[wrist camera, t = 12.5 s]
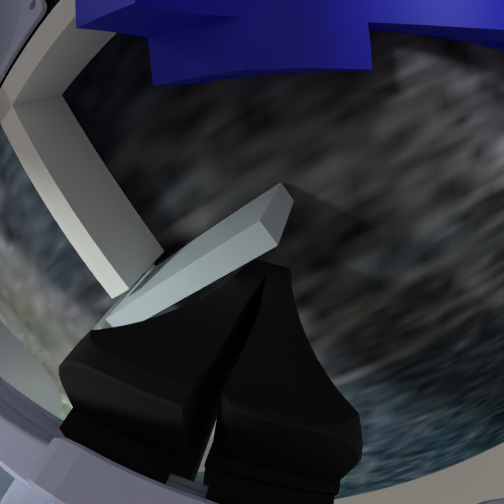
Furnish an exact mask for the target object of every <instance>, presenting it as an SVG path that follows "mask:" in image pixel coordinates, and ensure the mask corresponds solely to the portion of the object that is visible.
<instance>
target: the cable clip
mask: <svg viewBox="0 0 504 504" xmlns="http://www.w3.org/2000/svg"><path fill="white" fill-rule="evenodd" d="M75 14H76V28H79V29H90V30H100V31H108V32H116V33H123V34H129V35H136V36H142V37H147V38H148V44H149V54H150V63H151V72H152V81H153V86H156V85H186V84H198V83H204V82H211V81H218V80H225V79H232V78H241V77H250V76H260V75H271V74H285V73H304V72H369V71H371V70H373V68H372V56H371V46H370V37H369V31H387V32H399V33H409V34H418V35H426V36H433V37H440V38H446V39H452V40H457V41H463V42H467V43H472V44H477V45H481V46H486V47H490V48H494V49H498V50H501V51H504V0H75Z"/></svg>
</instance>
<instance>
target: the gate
mask: <svg viewBox="0 0 504 504" xmlns="http://www.w3.org/2000/svg"><path fill="white" fill-rule="evenodd" d="M293 202H294V200H293V199H292V197H291V196H290V194H289V193H288V192H287V190H286V189H285V187H284V186H283V185H282V183H281V182H280V183H279V184H277V185H276V186H274V187H272V188H271V189H269V190H268V191H266V192H265V193H263V194H262V195H260V196H259V197H257V198H256V199H254V200H253V201H251V202H249V203H248V204H246V205H245V206H243V207H242V208H240V209H239V210H237V211H236V212H234V213H233V214H231V215H230V216H228V217H227V218H225V219H224V220H222V221H221V222H219V223H218V224H216V225H215V226H214V227H212V228H211V229H209V230H208V231H206V232H205V233H203V234H202V235H200V236H199V237H197V238H196V239H194V240H193V241H192V242H190V243H189V244H187V245H186V246H184V247H183V248H181V249H180V250H179V251H177V252H176V253H174V254H173V255H171V256H170V257H168V258H167V259H166V260H164V261H163V262H161V263H160V264H159V265H157V266H156V267H154V268H153V269H151V270H150V271H149V272H147V273H146V274H143V275H142V276H141V277H140V278H139V279H138V280H137V281H136V282H135V283H134V285H133V286H132V287H131V288H130V289H129V290H127V291H126V292H125V293H124V294H123V295H122V296H121V298H120V299H119V300H118V301H117V302H116V303H115V304H114V305H113V306H112V308H111V309H110V310H109V311H108V312H107V313H106V314H105V316H104V317H103V318H102V319H101V320H100V321H99V322H98V324H97V325H96V326H95V327H94V330H98V329H104V328H111V327H117V326H123V325H127V324H132V323H136V322H140V321H144V320H146V319H147V318H149V317H151V316H153V315H155V314H156V313H158V312H160V311H162V310H164V309H165V308H167V307H169V306H171V305H173V304H174V303H176V302H178V301H180V300H182V299H183V298H185V297H187V296H189V295H191V294H192V293H194V292H196V291H198V290H199V289H201V288H203V287H205V286H207V285H208V284H210V283H212V282H214V281H216V280H217V279H219V278H221V277H223V276H225V275H226V274H228V273H230V272H232V271H233V270H235V269H237V268H239V267H241V266H242V265H244V264H246V263H248V262H249V261H251V260H253V259H255V258H257V257H258V256H260V255H262V254H264V253H265V252H267V251H269V250H271V249H273V248H274V247H276V246H278V244H279V241H280V238H281V236H282V233H283V230H284V227H285V224H286V222H287V219H288V216H289V213H290V210H291V208H292V205H293Z"/></svg>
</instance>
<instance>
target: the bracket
mask: <svg viewBox="0 0 504 504" xmlns="http://www.w3.org/2000/svg"><path fill="white" fill-rule="evenodd" d="M115 34H116V32H108V31H100V30H90V29H79V28H76V14H75V0H60V1H59V2H58V3H57V5H56V6H55V7H54V8H53V10H52V11H51V12H50V13H49V15H48V16H47V17H46V19H45V20H44V21H43V23H42V24H41V25H40V27H39V28H38V29H37V31H36V32H35V34H34V35H33V37H32V38H31V39H30V41H29V42H28V44H27V45H26V47H25V48H24V50H23V51H22V53H21V55H20V56H19V58H18V59H17V61H16V63H15V64H14V66H13V67H12V69H11V71H10V73H9V74H8V76H7V78H6V79H5V81H4V83H3V85H2V87H1V88H0V123H1V125H2V127H3V129H4V131H5V133H6V135H7V137H8V139H9V141H10V143H11V145H12V147H13V149H14V151H15V153H16V155H17V156H18V158H19V160H20V162H21V164H22V165H23V167H24V169H25V171H26V173H27V174H28V176H29V178H30V180H31V181H32V183H33V185H34V186H35V188H36V190H37V191H38V193H39V195H40V196H41V198H42V200H43V201H44V203H45V204H46V206H47V208H48V209H49V211H50V212H51V214H52V215H53V217H54V219H55V220H56V222H57V223H58V225H59V226H60V228H61V229H62V231H63V232H64V234H65V235H66V237H67V238H68V239H69V241H70V242H71V244H72V245H73V247H74V248H75V250H76V251H77V252H78V254H79V255H80V257H81V258H82V259H83V261H84V262H85V263H86V265H87V266H88V268H89V269H90V270H91V272H92V273H93V274H94V276H95V277H96V278H97V280H98V281H99V282H100V284H101V285H102V286H103V287H104V289H105V290H106V291H107V293H108V294H109V295H110V296H111V298H114V297H116V296H118V295H120V294H121V293H123V292H125V291H127V290H129V289H130V288H131V287H132V286H133V285H134V283H135V282H136V281H137V280H138V279H139V278H140V277H141V276H142V275H143V274H144V273H145V271H146V270H147V269H148V268H149V267H150V266H151V265H152V264H153V263H154V262H155V261H156V260H157V259H158V258H159V256H160V255H161V254H162V253H163V252H164V250H163V248H162V247H161V245H160V244H159V243H158V241H157V240H156V239H155V237H154V236H153V234H152V233H151V232H150V230H149V229H148V227H147V226H146V225H145V223H144V222H143V220H142V219H141V217H140V216H139V215H138V213H137V212H136V210H135V209H134V207H133V206H132V204H131V203H130V201H129V200H128V199H127V197H126V196H125V194H124V193H123V191H122V190H121V188H120V187H119V185H118V184H117V182H116V181H115V179H114V178H113V176H112V175H111V173H110V172H109V170H108V169H107V167H106V166H105V164H104V162H103V161H102V159H101V158H100V156H99V155H98V153H97V152H96V150H95V148H94V147H93V145H92V144H91V142H90V141H89V139H88V137H87V136H86V134H85V132H84V131H83V129H82V128H81V126H80V124H79V123H78V121H77V119H76V118H75V116H74V114H73V113H72V111H71V109H70V108H69V106H68V104H67V103H66V101H65V99H64V98H63V96H62V94H63V93H64V91H65V90H66V89H67V88H68V86H69V85H70V84H71V83H72V82H73V80H74V79H75V78H76V77H77V76H78V74H79V73H80V72H81V71H82V70H83V68H84V67H85V66H86V65H87V64H88V63H89V62H90V61H91V59H92V58H93V57H94V56H95V55H96V54H97V53H98V52H99V51H100V50H101V49H102V48H103V46H104V45H105V44H106V43H107V42H108V41H109V40H110V39H111V38H112V37H113V36H114V35H115Z"/></svg>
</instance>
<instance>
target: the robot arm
mask: <svg viewBox="0 0 504 504" xmlns="http://www.w3.org/2000/svg"><path fill="white" fill-rule="evenodd" d="M46 10H47V4H46V2H45V0H0V83H1V81H2V79H3V78H4V76H5V74H6V72H7V71H8V69H9V67H10V66H11V64H12V62H13V61H14V59H15V57H16V56H17V54H18V53H19V51H20V49H21V48H22V46H23V45H24V43H25V42H26V40H27V39H28V37H29V36H30V34H31V33H32V32H33V30H34V29H35V27H36V26H37V25H38V23H39V22H40V20H41V19H42V18H43V16H44V15H45V13H46ZM59 376H60V380H61V383H62V385H63V387H64V389H65V392H66V394H67V396H68V398H69V400H70V402H71V404H72V406H73V408H72V410H71V411H70V413H69V414H68V415H67V417H66V418H65V420H64V421H63V420H61V419H59V418H58V417H56V416H55V415H53V414H51V413H50V412H48V411H47V410H45V409H44V408H42V407H41V406H39V405H38V404H36V403H35V402H33V401H32V400H30V399H29V398H28V397H26V396H25V395H23V394H22V393H21V392H19V391H18V390H17V389H15V388H14V387H13V386H11V385H10V384H9V383H7V382H6V381H5V380H3V379H2V378H1V377H0V466H1V467H2V468H3V469H4V470H5V471H6V472H8V473H9V474H10V475H11V476H13V477H14V478H15V480H14V482H13V483H12V485H11V486H10V488H9V489H8V491H7V492H6V494H5V495H4V497H3V499H2V500H1V502H0V504H333V503H334V496H335V495H337V494H338V492H339V488H340V480H341V479H342V478H343V477H344V476H345V475H346V474H347V473H349V472H350V471H351V470H352V469H353V468H354V467H355V466H356V465H357V464H358V463H359V461H360V460H361V456H362V447H363V444H362V431H361V424H360V418H359V414H358V412H357V411H356V410H355V409H354V408H353V407H352V406H351V404H350V403H349V402H348V401H347V400H346V399H345V398H344V396H343V395H342V394H341V393H340V392H339V391H338V389H337V388H336V387H335V385H334V384H333V383H332V381H331V380H330V378H329V377H328V375H327V374H326V372H325V370H324V369H323V367H322V365H321V364H320V362H319V361H318V359H317V357H316V355H315V353H314V351H313V349H312V347H311V345H310V343H309V341H308V339H307V337H306V334H305V332H304V329H303V327H302V324H301V321H300V318H299V315H298V312H297V308H296V304H295V300H294V296H293V291H292V285H291V271H290V269H289V268H287V267H283V266H279V265H275V264H272V263H268V262H264V261H260V260H256V259H254V260H252V261H250V262H249V263H248V264H247V265H246V266H245V267H244V268H242V269H241V270H240V271H239V272H238V273H236V274H235V275H234V276H232V277H231V278H230V279H228V280H227V281H225V282H224V283H223V284H221V285H220V286H218V287H217V288H215V289H214V290H212V291H210V292H209V293H207V294H206V295H204V296H202V297H200V298H199V299H197V300H195V301H193V302H191V303H189V304H187V305H185V306H183V307H181V308H178V309H176V310H173V311H171V312H168V313H165V314H162V315H160V316H157V317H154V318H151V319H147V320H144V321H140V322H136V323H132V324H127V325H123V326H117V327H111V328H104V329H98V330H91V331H90V332H89V333H88V334H87V335H86V336H85V337H84V338H82V339H81V340H80V342H79V343H78V344H77V345H76V346H75V348H74V349H73V350H72V351H71V352H70V353H69V355H68V356H67V357H66V358H65V359H64V361H63V362H62V363H61V364H60V366H59ZM216 419H217V421H216ZM215 422H216V427H215V434H214V440H213V443H212V446H211V449H210V451H209V454H208V456H207V459H206V461H205V465H204V466H205V474H204V482H203V485H202V484H199V483H196V482H194V481H195V478H196V475H197V472H198V470H199V467H200V464H201V461H202V458H203V455H204V452H205V450H206V447H207V444H208V441H209V438H210V436H211V433H212V430H213V427H214V424H215ZM479 504H504V498H501V499H495V500H489V501H485V502H481V503H479Z"/></svg>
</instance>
